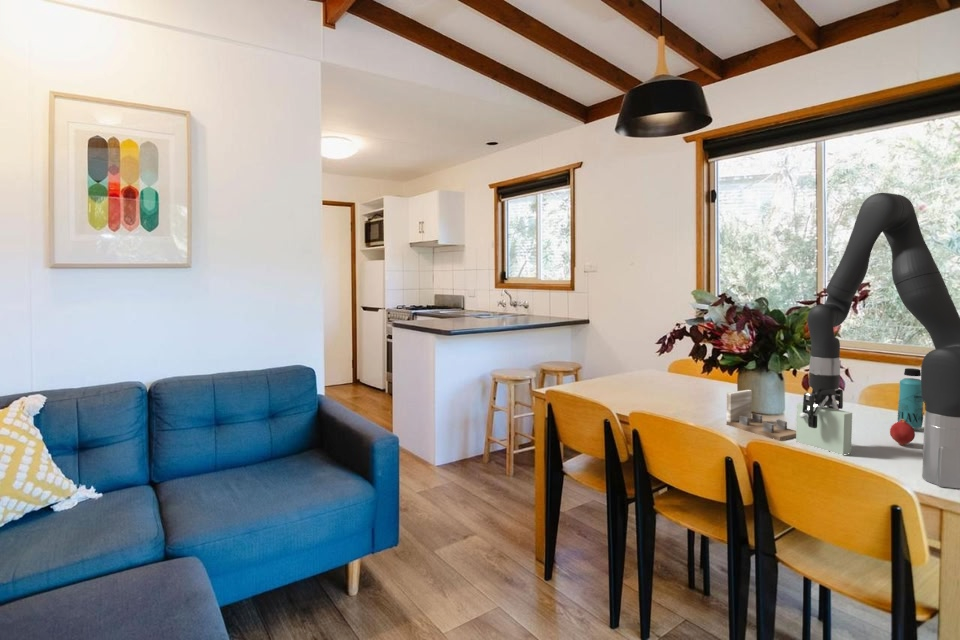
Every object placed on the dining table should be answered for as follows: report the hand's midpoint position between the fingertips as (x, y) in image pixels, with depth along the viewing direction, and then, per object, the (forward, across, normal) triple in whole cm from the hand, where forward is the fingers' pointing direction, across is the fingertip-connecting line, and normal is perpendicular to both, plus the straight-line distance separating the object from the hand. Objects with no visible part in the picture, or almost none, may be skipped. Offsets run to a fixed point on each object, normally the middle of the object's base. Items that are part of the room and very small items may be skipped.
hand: (822, 425), depth 153 cm
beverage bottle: (+7, -41, +2) cm, 41 cm away
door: (+7, 0, 0) cm, 7 cm away
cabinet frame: (+7, 0, -20) cm, 21 cm away
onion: (+7, -22, +9) cm, 25 cm away
